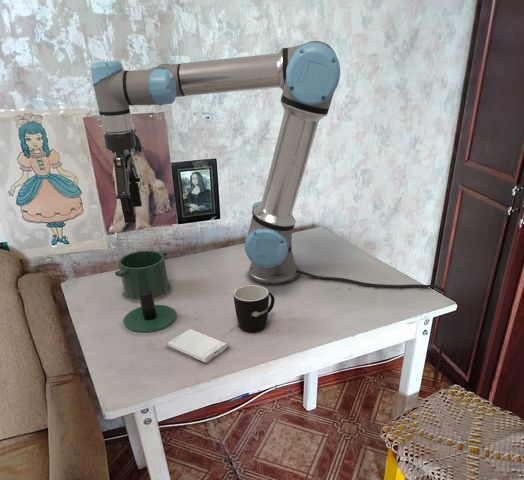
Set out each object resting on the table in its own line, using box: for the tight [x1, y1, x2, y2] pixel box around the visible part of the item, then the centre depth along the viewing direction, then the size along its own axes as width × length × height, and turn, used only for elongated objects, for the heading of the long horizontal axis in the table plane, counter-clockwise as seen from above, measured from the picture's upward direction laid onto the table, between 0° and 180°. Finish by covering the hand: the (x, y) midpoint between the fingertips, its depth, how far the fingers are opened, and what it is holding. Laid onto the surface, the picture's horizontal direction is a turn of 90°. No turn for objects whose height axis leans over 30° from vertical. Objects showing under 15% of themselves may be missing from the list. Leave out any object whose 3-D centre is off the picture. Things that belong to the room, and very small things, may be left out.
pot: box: [114, 250, 170, 301], centre depth 148 cm, size 13×18×10 cm
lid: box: [123, 290, 177, 334], centre depth 134 cm, size 14×14×9 cm
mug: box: [233, 284, 276, 334], centre depth 130 cm, size 12×9×10 cm
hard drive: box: [167, 328, 228, 364], centre depth 124 cm, size 2×8×12 cm
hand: (133, 214), depth 138 cm, fingers open, 13 cm apart
